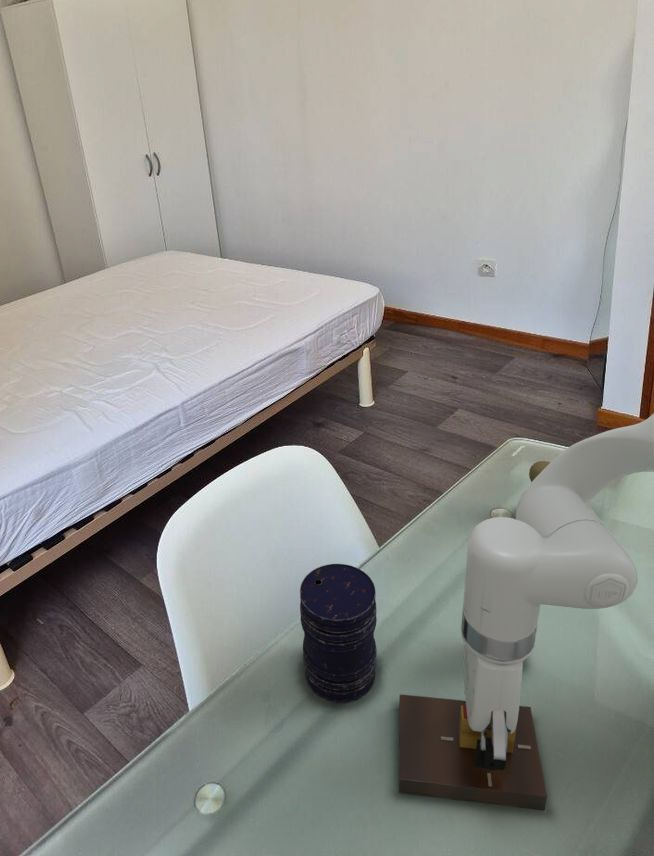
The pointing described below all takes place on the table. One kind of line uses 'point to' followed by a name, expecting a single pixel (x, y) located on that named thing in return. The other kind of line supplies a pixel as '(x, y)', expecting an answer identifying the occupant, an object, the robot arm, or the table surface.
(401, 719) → the plate
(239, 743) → the table surface
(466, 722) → the lock knob
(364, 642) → the dark blue barrel
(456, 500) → the table surface
